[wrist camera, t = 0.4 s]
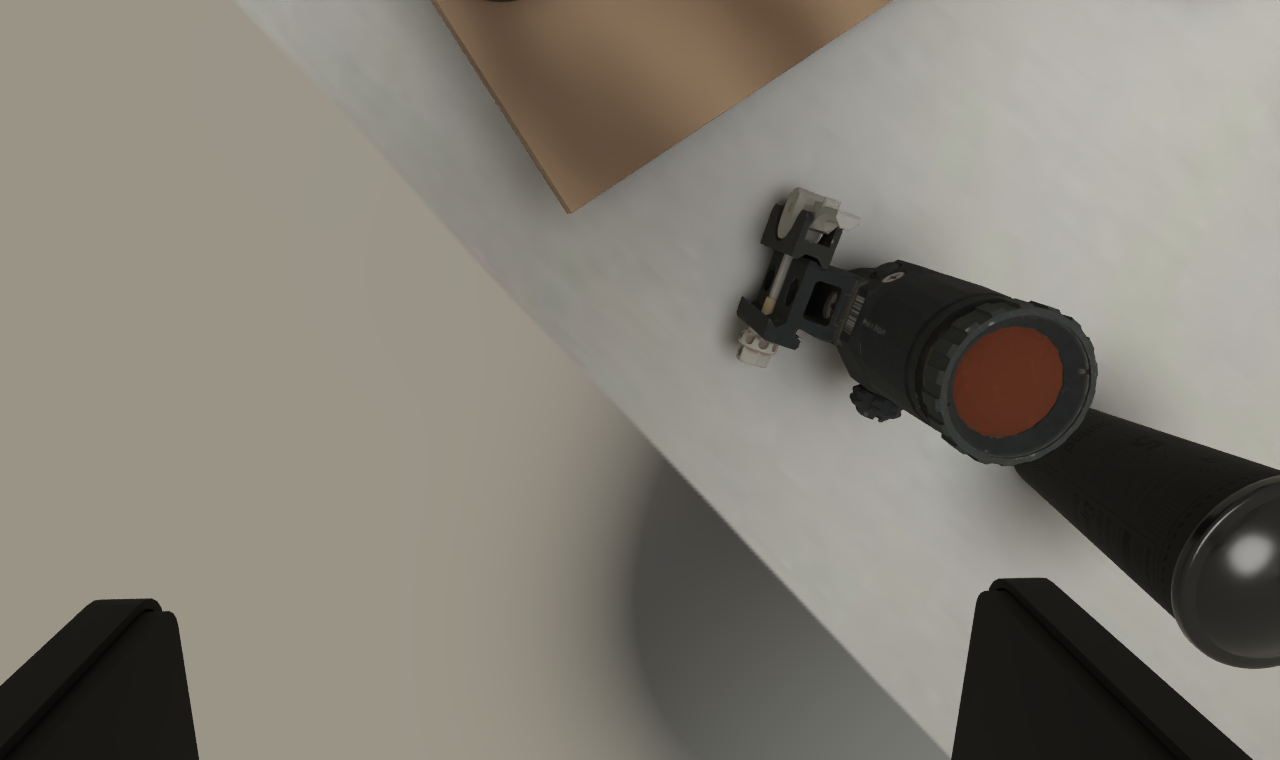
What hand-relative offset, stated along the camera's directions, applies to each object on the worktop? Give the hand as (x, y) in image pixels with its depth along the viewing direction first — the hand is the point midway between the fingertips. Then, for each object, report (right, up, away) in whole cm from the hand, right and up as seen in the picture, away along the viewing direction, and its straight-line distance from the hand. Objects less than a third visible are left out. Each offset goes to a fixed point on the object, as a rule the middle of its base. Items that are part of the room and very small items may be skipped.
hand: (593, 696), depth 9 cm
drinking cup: (+22, 0, +32) cm, 39 cm away
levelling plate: (+1, +23, +18) cm, 29 cm away
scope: (+10, +8, +29) cm, 32 cm away
